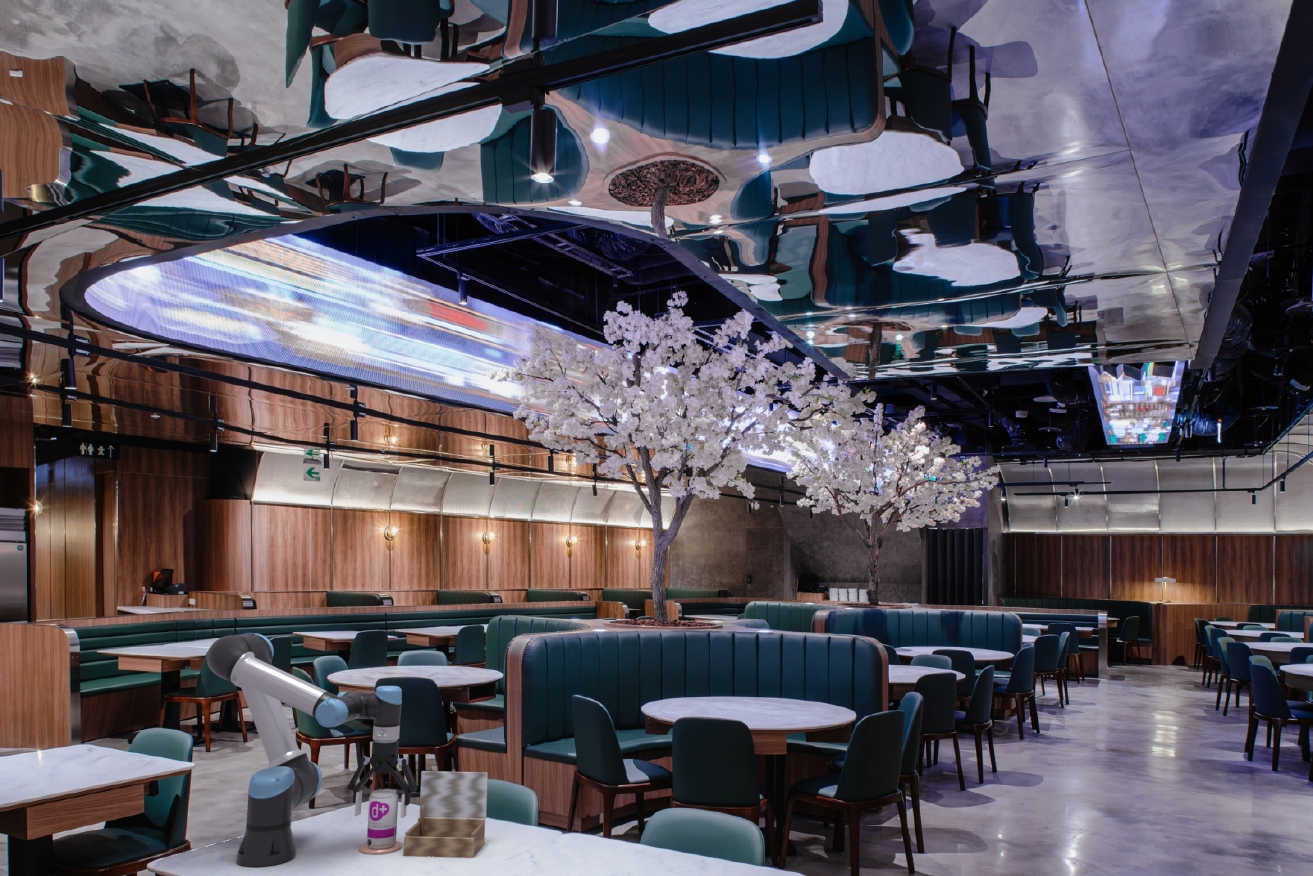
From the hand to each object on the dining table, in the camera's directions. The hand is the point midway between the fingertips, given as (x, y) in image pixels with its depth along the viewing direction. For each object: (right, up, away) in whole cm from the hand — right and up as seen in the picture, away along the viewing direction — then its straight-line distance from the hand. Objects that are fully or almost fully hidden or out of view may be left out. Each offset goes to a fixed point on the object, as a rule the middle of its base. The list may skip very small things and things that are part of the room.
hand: (380, 816), depth 260 cm
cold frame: (+19, -9, -3) cm, 21 cm away
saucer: (0, -9, -1) cm, 9 cm away
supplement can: (+1, -8, -1) cm, 8 cm away
